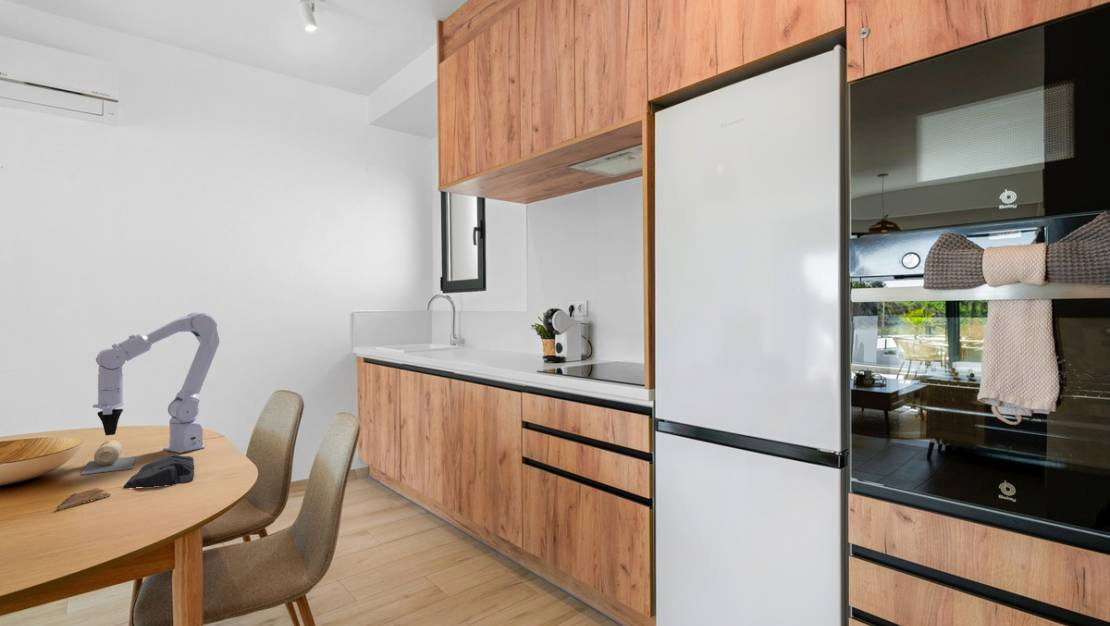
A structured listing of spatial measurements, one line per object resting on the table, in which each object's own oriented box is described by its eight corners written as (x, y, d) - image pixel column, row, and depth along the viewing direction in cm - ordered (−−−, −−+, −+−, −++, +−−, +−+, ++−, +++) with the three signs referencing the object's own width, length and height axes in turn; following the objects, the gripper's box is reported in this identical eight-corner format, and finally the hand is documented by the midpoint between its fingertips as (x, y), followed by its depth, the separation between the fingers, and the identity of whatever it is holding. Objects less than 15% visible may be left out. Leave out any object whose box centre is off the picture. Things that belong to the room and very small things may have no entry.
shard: (56, 513, 124) (56, 505, 124) (38, 508, 127) (38, 500, 127) (111, 498, 134) (111, 491, 134) (93, 493, 137) (93, 486, 137)
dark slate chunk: (202, 463, 164) (202, 447, 164) (192, 485, 144) (192, 467, 144) (139, 469, 157) (139, 453, 157) (119, 493, 137) (119, 474, 137)
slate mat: (89, 462, 161) (89, 461, 161) (136, 457, 168) (136, 456, 168) (80, 475, 149) (80, 474, 149) (131, 469, 155) (131, 468, 155)
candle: (126, 452, 167) (121, 460, 158) (105, 461, 164) (99, 470, 156) (116, 436, 166) (111, 443, 157) (95, 446, 163) (88, 454, 154)
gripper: (96, 386, 168) (96, 431, 168) (89, 393, 155) (89, 441, 156) (126, 385, 171) (125, 428, 172) (120, 391, 159) (120, 438, 159)
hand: (110, 434), depth 164 cm, fingers closed
